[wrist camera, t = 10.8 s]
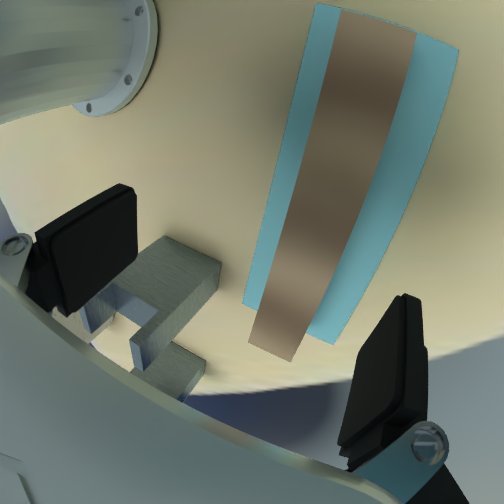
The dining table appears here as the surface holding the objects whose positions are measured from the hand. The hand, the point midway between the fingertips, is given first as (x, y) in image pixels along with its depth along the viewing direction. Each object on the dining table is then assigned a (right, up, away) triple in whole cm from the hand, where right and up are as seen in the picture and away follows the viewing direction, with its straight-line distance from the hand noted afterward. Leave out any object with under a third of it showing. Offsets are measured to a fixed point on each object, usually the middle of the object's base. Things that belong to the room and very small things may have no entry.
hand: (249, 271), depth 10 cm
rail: (+5, +4, +8) cm, 10 cm away
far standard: (-8, -11, +24) cm, 28 cm away
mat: (+5, +4, +8) cm, 10 cm away
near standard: (-5, 0, +16) cm, 17 cm away
